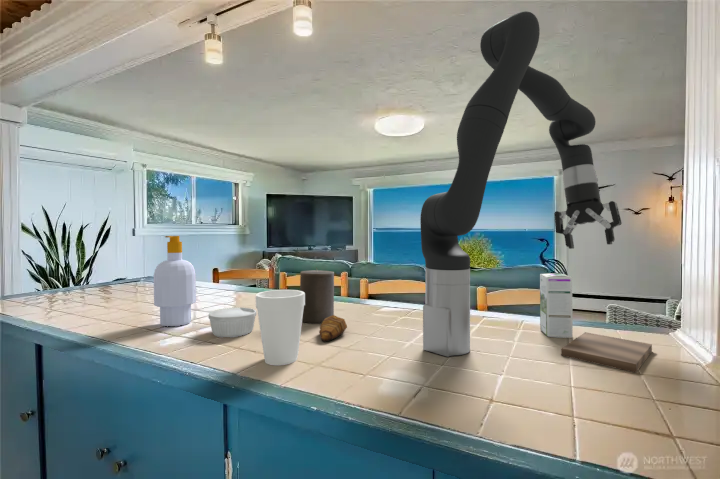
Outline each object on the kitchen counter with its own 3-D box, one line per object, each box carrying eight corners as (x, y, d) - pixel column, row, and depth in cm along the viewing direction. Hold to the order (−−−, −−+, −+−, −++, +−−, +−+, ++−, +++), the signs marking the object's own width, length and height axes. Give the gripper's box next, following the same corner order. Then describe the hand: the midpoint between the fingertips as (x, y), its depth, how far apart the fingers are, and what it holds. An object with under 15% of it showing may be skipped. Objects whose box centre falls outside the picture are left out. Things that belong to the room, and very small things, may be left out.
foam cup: (313, 354, 72) (313, 291, 72) (290, 371, 64) (289, 299, 63) (273, 349, 75) (272, 288, 75) (246, 364, 67) (245, 296, 66)
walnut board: (636, 372, 62) (636, 364, 62) (561, 355, 71) (561, 347, 71) (651, 351, 73) (651, 344, 73) (585, 338, 82) (585, 332, 82)
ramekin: (265, 330, 90) (265, 310, 90) (228, 342, 81) (228, 319, 81) (237, 324, 96) (236, 305, 96) (199, 334, 87) (199, 313, 87)
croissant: (339, 344, 79) (339, 322, 79) (310, 342, 80) (310, 321, 80) (353, 328, 92) (353, 309, 92) (328, 327, 94) (328, 308, 93)
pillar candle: (304, 325, 95) (305, 269, 95) (296, 317, 104) (296, 266, 103) (338, 321, 99) (339, 268, 98) (327, 314, 108) (328, 265, 107)
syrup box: (573, 338, 82) (574, 276, 82) (546, 337, 83) (546, 275, 83) (564, 331, 88) (565, 273, 87) (538, 330, 89) (539, 272, 89)
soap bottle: (145, 328, 93) (143, 236, 92) (172, 318, 103) (170, 235, 102) (180, 329, 91) (178, 236, 91) (204, 319, 101) (203, 235, 101)
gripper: (546, 190, 95) (555, 249, 93) (609, 175, 85) (620, 242, 83) (556, 193, 100) (564, 250, 98) (616, 180, 90) (627, 243, 88)
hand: (590, 246), depth 91 cm, fingers open, 8 cm apart
